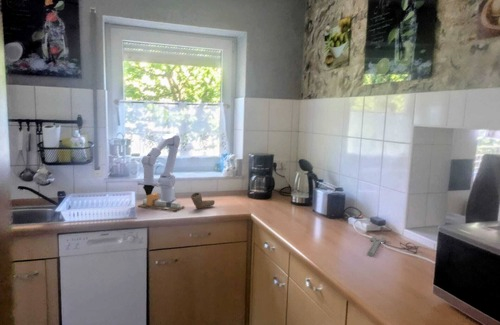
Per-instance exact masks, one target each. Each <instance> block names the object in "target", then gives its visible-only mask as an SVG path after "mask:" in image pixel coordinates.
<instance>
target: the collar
mask: <svg viewBox="0 0 500 325" xmlns="http://www.w3.org/2000/svg"><path fill="white" fill-rule="evenodd" d="M146 199H147V205H149V206H152V205H153V200H159V193H155V192H152V193H151V194H150V195H146Z"/></svg>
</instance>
